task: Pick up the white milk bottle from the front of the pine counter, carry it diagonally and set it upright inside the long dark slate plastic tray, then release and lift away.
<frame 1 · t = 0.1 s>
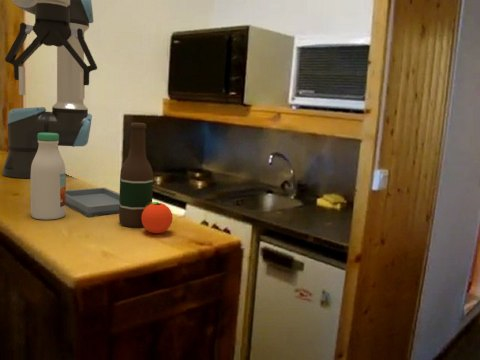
hand: (52, 97, 109), 28 cm above the countertop, fingers open, 13 cm apart
tomato: (154, 233, 102), on the countertop
beer bottle: (135, 224, 107), on the countertop
slate tray: (97, 205, 122), on the countertop
milk bottle: (48, 216, 108), on the countertop
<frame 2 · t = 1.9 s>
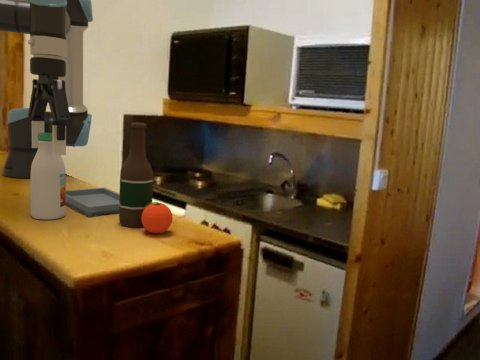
hand: (48, 151, 105), 16 cm above the countertop, fingers open, 13 cm apart
nothing on the countertop moved.
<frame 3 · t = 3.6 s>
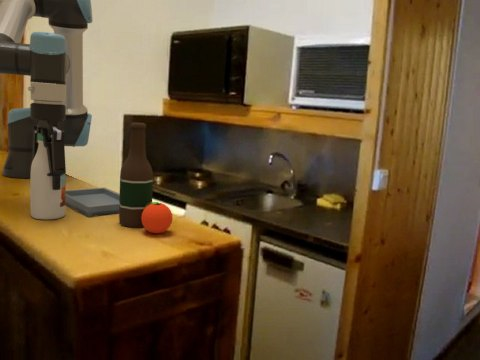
hand: (48, 199, 108), 4 cm above the countertop, fingers closed on milk bottle, 8 cm apart
milk bottle: (48, 216, 108), on the countertop, touching gripper
everything else where it was.
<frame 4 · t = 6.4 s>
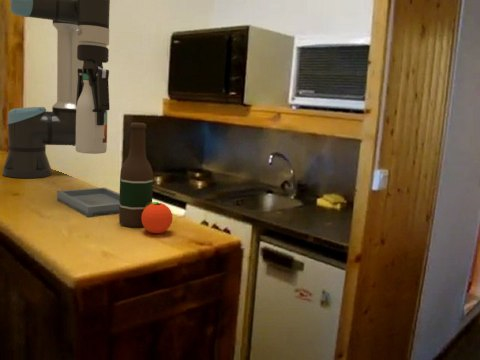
hand: (91, 136, 117), 19 cm above the countertop, fingers closed on milk bottle, 8 cm apart
milk bottle: (91, 153, 117), point 14 cm above the countertop, touching gripper
everything else where it was.
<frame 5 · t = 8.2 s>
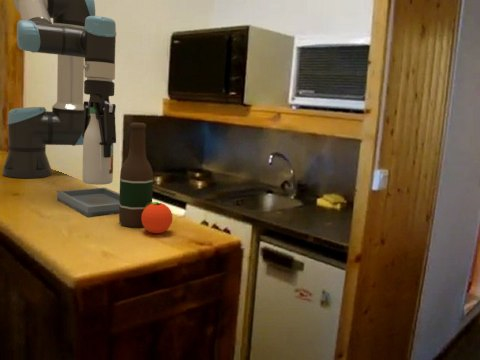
hand: (97, 167, 120), 11 cm above the countertop, fingers closed on milk bottle, 8 cm apart
milk bottle: (97, 183, 121), point 6 cm above the countertop, touching gripper
everything else where it was.
when the fingers open (7 cm above the countertop, at t = 9.4 s): milk bottle drops 1 cm, resting on slate tray.
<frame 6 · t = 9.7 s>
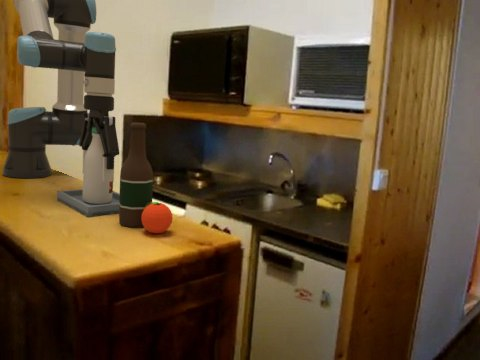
hand: (97, 177, 120), 8 cm above the countertop, fingers open, 11 cm apart
milk bottle: (97, 201, 122), point 1 cm above the countertop, touching slate tray
everything else where it was.
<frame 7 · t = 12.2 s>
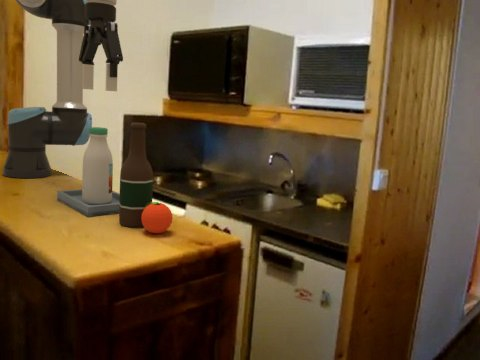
hand: (99, 90, 117), 31 cm above the countertop, fingers open, 13 cm apart
nothing on the countertop moved.
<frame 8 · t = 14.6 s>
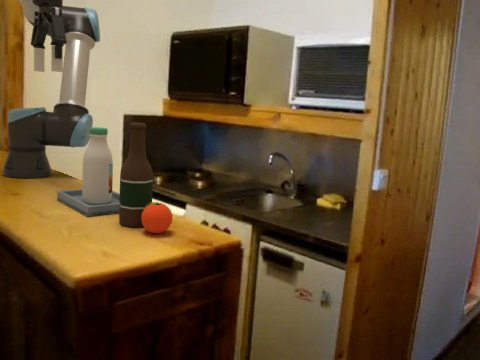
hand: (47, 71, 125), 35 cm above the countertop, fingers open, 13 cm apart
nothing on the countertop moved.
at the end: milk bottle inside the target area on the slate tray (0.0 cm from its centre), point 0.8 cm above the slate tray's base; milk bottle tilted 0°; the gripper is holding nothing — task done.
